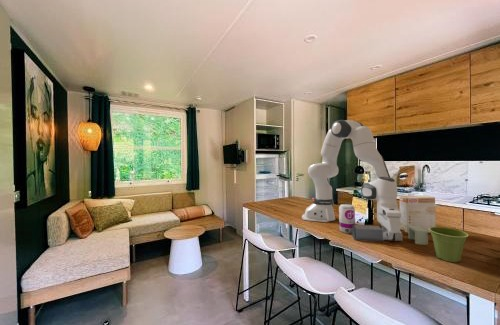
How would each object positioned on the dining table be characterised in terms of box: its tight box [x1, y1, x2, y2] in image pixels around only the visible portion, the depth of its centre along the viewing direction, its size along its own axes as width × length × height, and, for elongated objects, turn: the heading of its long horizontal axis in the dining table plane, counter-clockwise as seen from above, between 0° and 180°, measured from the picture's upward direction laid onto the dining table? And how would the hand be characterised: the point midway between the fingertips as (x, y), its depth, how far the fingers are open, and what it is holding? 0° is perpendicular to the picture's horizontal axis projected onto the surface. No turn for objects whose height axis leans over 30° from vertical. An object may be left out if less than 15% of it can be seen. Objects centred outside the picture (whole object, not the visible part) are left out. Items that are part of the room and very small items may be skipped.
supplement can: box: [338, 203, 356, 234], centre depth 122 cm, size 8×8×15 cm
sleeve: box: [351, 224, 384, 243], centre depth 111 cm, size 13×7×6 cm, turn 76°
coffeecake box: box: [398, 194, 437, 234], centre depth 120 cm, size 15×7×20 cm, turn 84°
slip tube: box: [381, 228, 403, 242], centre depth 109 cm, size 21×6×5 cm, turn 76°
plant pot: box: [429, 226, 469, 263], centre depth 87 cm, size 12×12×11 cm
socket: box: [407, 226, 429, 246], centre depth 105 cm, size 5×8×6 cm, turn 166°
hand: (387, 235), depth 108 cm, fingers open, 6 cm apart
